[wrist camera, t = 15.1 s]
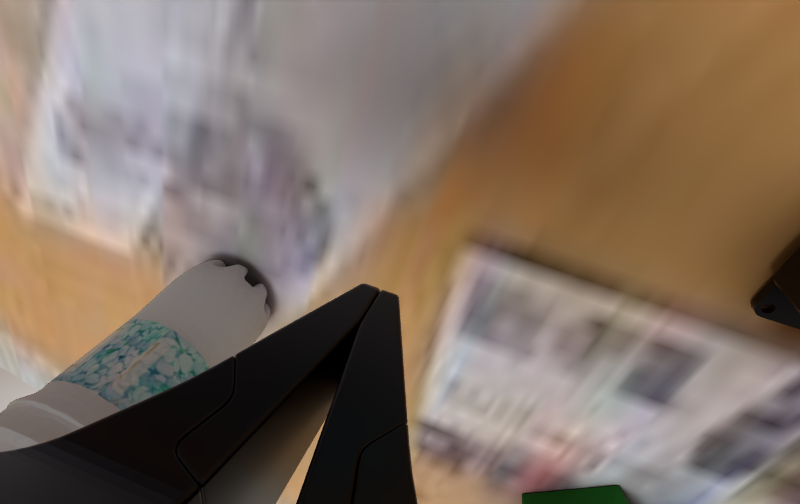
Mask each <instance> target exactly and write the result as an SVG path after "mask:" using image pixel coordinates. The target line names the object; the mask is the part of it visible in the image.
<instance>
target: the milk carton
mask: <svg viewBox="0 0 800 504" xmlns="http://www.w3.org/2000/svg"><path fill="white" fill-rule="evenodd" d="M522 504H631V503H630V502H629V500H628V499H627V497H626V496H625V494H624V493H623V491H622V490H621V489H620V487H619V486H607V487H596V488H585V489H574V490H562V491H551V492H540V493H529V494H522Z"/></svg>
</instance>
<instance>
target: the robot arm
mask: <svg viewBox="0 0 800 504" xmlns="http://www.w3.org/2000/svg"><path fill="white" fill-rule="evenodd" d="M767 304H771V305H770V306H769V307H766V308H762V307H763V306H764V305H767ZM751 307H752V308H753V310H754V311H755V313H756V314H757V315H758V316H760V317H763V318H766V319H769V320H772V321H776V322H779V323H782V324H785V325H788V326H791V327H794V328H798V329H800V248H799V249H798V250H797V251H796V252H795V254H794V255H793V256H792V257H791V258H790V259H789V260H788V261H787V262H786V263H785V264H784V265H783V267H782V268H781V269H780V270H779V271H778V272H777V273H776V274H775V275H774V277H773V279H772V280H771V281H770V282H769V283H768V284H767V285H766V286H765V287H764V288H763V289H762V290H761V292H760V293H759V294H758V295H757V296H756V297H755V298H754V299H753V300H752V302H751ZM326 417H327V418H326ZM325 419H326V420H325ZM324 421H325V423H324V426H323V429H322V432H321V435H320V438H319V440H318V443H317V446H316V449H315V452H314V455H313V457H312V460H311V463H310V466H309V469H308V472H307V474H306V477H305V480H304V483H303V486H302V489H301V492H300V494H299V497H298V500H297V503H296V504H417V498H416V492H415V486H414V480H413V474H412V466H411V456H410V447H409V434H408V425H407V408H406V394H405V379H404V365H403V350H402V336H401V322H400V307H399V297H398V296H397V295H396V294H393V293H390V292H387V291H385V290H382V291H380V290H379V289H378V288H376V287H373V286H371V285H368V284H360V285H358V286H357V287H355V288H353V289H351V290H350V291H348V292H346V293H344V294H342V295H341V296H339V297H337V298H335V299H333V300H332V301H330V302H328V303H326V304H324V305H323V306H321V307H319V308H317V309H316V310H314V311H312V312H310V313H308V314H307V315H305V316H303V317H301V318H299V319H298V320H296V321H294V322H292V323H290V324H289V325H287V326H285V327H283V328H282V329H280V330H278V331H276V332H274V333H273V334H271V335H269V336H267V337H265V338H264V339H262V340H260V341H258V342H256V343H255V344H253V345H251V346H249V347H248V348H246V349H244V350H242V351H240V352H239V353H237V354H236V355H235V357H234V356H231V357H229V358H228V359H226V360H224V361H222V362H220V363H219V364H217V365H215V366H213V367H211V368H209V369H207V370H205V371H204V372H202V373H200V374H198V375H196V376H194V377H192V378H190V379H188V380H186V381H184V382H182V383H180V384H178V385H176V386H174V387H171V388H169V389H167V390H165V391H163V392H161V393H159V394H156V395H154V396H152V397H150V398H147V399H145V400H143V401H141V402H138V403H136V404H134V405H132V406H129V407H127V408H125V409H123V410H120V411H118V412H116V413H114V414H111V415H109V416H107V417H105V418H102V419H100V420H98V421H96V422H93V423H91V424H89V425H87V426H84V427H82V428H80V429H78V430H75V431H73V432H70V433H68V434H66V435H63V436H61V437H58V438H55V439H52V440H49V441H46V442H43V443H40V444H36V445H32V446H29V447H24V448H20V449H15V450H9V451H3V452H0V504H276V502H277V501H278V499H279V497H280V495H281V494H282V492H283V490H284V489H285V487H286V485H287V484H288V482H289V480H290V478H291V477H292V475H293V473H294V472H295V470H296V468H297V466H298V465H299V463H300V461H301V460H302V458H303V456H304V455H305V453H306V451H307V449H308V448H309V446H310V444H311V443H312V441H313V439H314V438H315V436H316V434H317V432H318V431H319V429H320V427H321V426H322V424H323V422H324Z"/></svg>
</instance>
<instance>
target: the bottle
mask: <svg viewBox="0 0 800 504" xmlns="http://www.w3.org/2000/svg"><path fill="white" fill-rule="evenodd" d="M247 273H248V270H247V268H245V267H244V266H242V265H233V266H228V267H226V265H225V263H223V262H222V261H220V260H210V261H206V262H204V263H201V264H199V265H197V266H195V267H193V268H192V269H190V270H188V271H187V272H185V273H184V274H182V275H181V276H179V277H178V278H177V279H175V280H174V281H173V282H172V283H171V284H170V285H168V286H167V287H166V288H165V289H164V290H163V291H162V292H160V293H159V294H158V295H157V296H156V297H155V298H154V299H153V300H152V301H151V302H150V303H148V304H147V305H146V306H145V307H144V308H143V309H142V310H141V311H140V312H139V313H137V314H136V315H135V316H134V317H133V318H131V319H130V320H129V321H128V322H126V323H125V324H124V325H122V326H121V327H120V328H118V329H117V330H116V331H115V332H113V333H112V334H111V335H109V336H108V337H107V338H106V339H104V340H103V341H102V342H101V343H99V344H98V345H97V346H95V347H94V348H93V349H92V350H90V351H89V352H88V353H86V354H85V355H84V356H83V357H81V358H80V359H79V360H78V361H76V362H75V363H74V364H72V365H71V366H70V367H69V368H67V369H66V370H65V371H64V372H62V373H61V374H60V375H58V376H57V377H56V378H55V379H53V380H52V381H51V382H49V383H48V384H47V385H46V386H45V387H44V388H43V389H41V390H40V391H38V392H36V393H34V394H32V395H28V396H25V397H22V398H19V399H16V400H14V401H12V402H10V404H9V405H8V406H7V408H6V409H5V410H4V411H2V412H1V413H0V452H3V451H9V450H15V449H20V448H24V447H29V446H32V445H36V444H40V443H43V442H46V441H49V440H52V439H55V438H58V437H61V436H63V435H66V434H68V433H70V432H73V431H75V430H78V429H80V428H82V427H84V426H87V425H89V424H91V423H93V422H96V421H98V420H100V419H102V418H105V417H107V416H109V415H111V414H114V413H116V412H118V411H120V410H123V409H125V408H127V407H129V406H132V405H134V404H136V403H138V402H141V401H143V400H145V399H147V398H150V397H152V396H154V395H156V394H159V393H161V392H163V391H165V390H167V389H169V388H171V387H174V386H176V385H178V384H180V383H182V382H184V381H186V380H188V379H190V378H192V377H194V376H196V375H198V374H200V373H202V372H204V371H205V370H207V369H209V368H211V367H213V366H215V365H217V364H219V363H220V362H222V361H224V360H226V359H228V358H229V357H231V356H234V357H235V355H236V354H237V353H239V352H240V351H242V350H244V349H246V348H248V347H249V346H251V345H253V343H254V342H255V341H256V340H257V338H258V337H259V335H260V334H261V333H262V331H263V330H264V328H265V327H266V325H267V322H268V320H269V316H270V308H269V306H268V305H267V304H266V303H265V300H266V297H267V290H266V288H265V287H264V285H263V284H261V283H260V284H257V285H255V286H254V287H252V286H251V285H250V284H249V283H248V282H247V281H246V280H245V278H244V277H245V276H246V275H247Z"/></svg>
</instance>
